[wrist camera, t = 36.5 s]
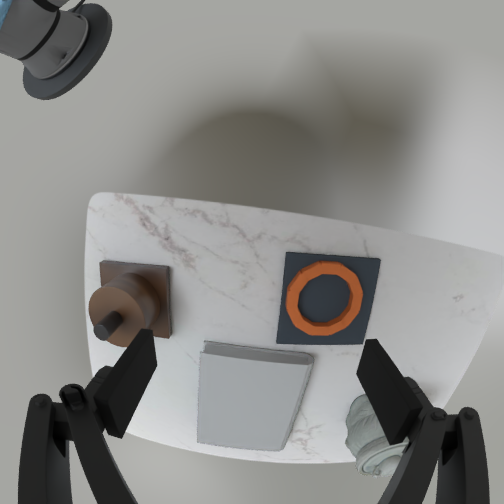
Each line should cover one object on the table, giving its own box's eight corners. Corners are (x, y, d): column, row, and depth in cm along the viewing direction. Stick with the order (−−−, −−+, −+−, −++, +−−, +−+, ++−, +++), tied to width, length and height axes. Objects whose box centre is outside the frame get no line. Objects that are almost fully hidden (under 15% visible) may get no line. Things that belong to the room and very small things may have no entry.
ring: (290, 258, 40) (291, 261, 39) (364, 263, 40) (368, 266, 39) (282, 329, 43) (283, 334, 41) (351, 331, 43) (354, 335, 41)
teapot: (422, 391, 47) (459, 446, 29) (376, 434, 50) (400, 492, 32) (380, 367, 45) (420, 435, 27) (328, 417, 48) (347, 488, 30)
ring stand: (103, 260, 42) (59, 283, 30) (169, 266, 42) (137, 295, 29) (110, 324, 44) (75, 360, 32) (171, 334, 44) (147, 378, 32)
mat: (286, 251, 41) (286, 253, 40) (378, 258, 41) (380, 259, 40) (276, 341, 44) (276, 343, 43) (361, 342, 44) (362, 344, 43)
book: (196, 442, 46) (200, 352, 41) (199, 429, 50) (204, 340, 44) (285, 451, 46) (316, 365, 41) (284, 439, 50) (312, 353, 44)
